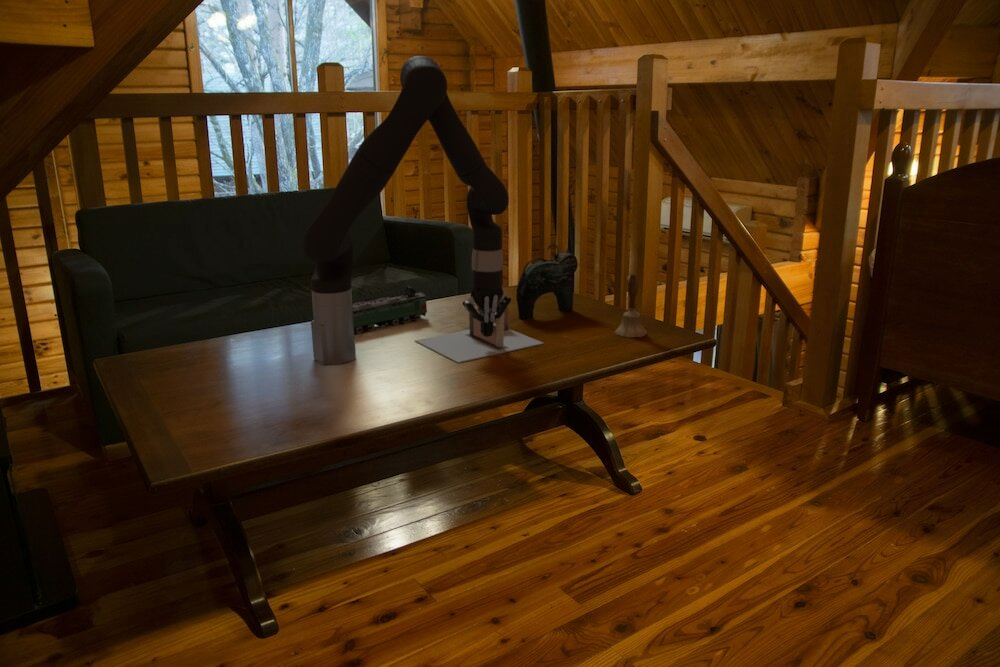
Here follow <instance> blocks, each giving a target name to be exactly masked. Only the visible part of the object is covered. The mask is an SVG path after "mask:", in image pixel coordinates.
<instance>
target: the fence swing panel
mask: <svg viewBox="0 0 1000 667" xmlns="http://www.w3.org/2000/svg"><path fill="white" fill-rule="evenodd" d="M473 325H474V335H475V336H477V337H479V338H481V339H483V340H485V341H488V342H490V343H492V344H494V345H496V346H497V347H503V346H504V323H503V322H496V324H495V323H493V334H492V336H489V337H485V336H483V335H482V334H481V322H480V321H478V320H476V319H474V318H473Z"/></svg>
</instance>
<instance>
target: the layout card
mask: <svg viewBox="0 0 1000 667" xmlns="http://www.w3.org/2000/svg"><path fill="white" fill-rule="evenodd" d="M414 342H415V343H417V344H418V345H419V344H420V345H421V346H423V347H425V348H427V349H429V350H430V351H433V352H435V353H437V354H439V355H440V356H443V357H445V358H446V359H449V360H450V361H453V362H454V363H456V364H461V363H467V362H471V361H474V360H478V359H483V358H488V357H493V356H497V355H500V354H505V353H510V352H515V351H518V350H523V349H524V350H525V349H528V348H532V347H537V346H542V345H544V342H542V341H541V340H537V339H535V338H532V337H530V336H527V335H525V334H523V333H520V332H517V331H515V330H512V329H510V328H509V329H504V346H503V347H497V346H496V345H494V344H492V343H490V342H488V341H485V340H483V339H481V338H479V337H477V336H470V329H466V330H461V331H456V332H451V333H450V332H449V333H446V334H440V335H436V336H435V335H434V336H431V337H430V336H429V337H426V338H420V339H417V340H414Z"/></svg>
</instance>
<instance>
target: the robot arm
mask: <svg viewBox="0 0 1000 667" xmlns="http://www.w3.org/2000/svg"><path fill="white" fill-rule="evenodd" d="M399 77H400V79H399V82H400V86H401V90H400V93H399V95H398V97H397V99H396V101H395V102H394V105H393V107H392V109H391V110H390V112H389V113H388V115H387V117H385V119H384V120H383V121H382V122H381V123H380V124H379V125H378V126H376V128H375V127H374V129H373V130H372V131H371V132H370V133H368V135H367V136H366V137H365V138H364V140H363V141H362V142H361V144H359V146H358V148H357V149H356V151H355V153H354V154H353V156H352V158H351V160H350V161H349V162H348V165H347V167H346V169H345V170H344V172H343V173H342V175H341V177H340V179H339V180H338V183H337V184H336V186H335V188H334V190H333V192H332V194H331V196H330V197H329V200H328V201H327V202H326V204H325V205H324V206H323V208H322V209H321V210H320V212H319V213H318V215H317V216H316V217H315V218H314V220H313V221H312V222H311V224H310V225H309V226H308V227H307V228H306V230H305V232H304V233H303V235H302V236H303V237H302V249H303V250H302V251H303V253H304V255H305V257H306V258H307V259H308V260H310V261H311V262H313V263H315V269H314V272H313V274H312V276H311V279H310V287H311V289H310V290H311V300H312V314H313V315H312V316H313V319H312V320H311V321H310V326H311V327H310V329H311V339H312V352H313V354H312V355H313V359H314V360H315V361H317V362H318V363H319V364H321V365H323V366H325V365H340V364H344V363H349V362H352V361H354V360H355V359H356V358H357V353H356V351H357V350H356V349H357V348H356V337H355V332H354V320H353V305H352V304H353V294H352V293H353V292H352V279H353V277H354V276H353V275H354V246H353V245H354V244H353V236H352V234H351V231H350V230H351V228H352V227H353V225H354V223H355V222H356V220H357V219H358V217H359V216H360V215H361V214H362V213H363V212H364V211H365V210H366V209H367V208H368V207H369V206H370V205H371V204H372V203H373V202H374V201H375V199H376V198H377V197H378V196H379V195H380V194H381V193H382V192H383V190H385V187H386V186H387V184H388V183H389V181H390V180H391V178H392V177H393V175H394V174H395V172H396V170H397V168H399V165H400V163H401V161H402V160H403V158H404V157H405V155H406V153H407V152H408V150H409V148H410V147H411V145H412V143H413V141H414V140H415V138H416V136H417V134H418V133H419V131H420V130H421V129H422V127H423V126H424V125H425V124H426V122H429V124H430V125H431V127H432V130H433V131H434V132H435V133H434V134H436V137H437V139H438V141H439V144H440V145H441V147H442V150H443V151H444V154H445V155H446V158H447V159H448V161H449V164H450V165H451V166H452V167H451V168H453V170H454V172H455V174H456V175H457V177H458V179H459V180H460V181H461V183H463V184H464V185H466V186H469V189H468V191H467V194H466V200H465V201H466V210H467V212H468V213H467V214H468V219H469V222H470V226H471V229H472V253H471V286H472V287H471V289H472V290H471V292H470V297H469V298H468V299H467V300H463V302H462V306H464V307H465V309H466V310H467V312H468V314H469V313H470V314H471V315H472V317H473V318H474V319H476V320H478V321H480V322H481V334H482V335H483V336H485V337H489V336H492V334H493V322H494V320H495V319H497V318H500V317H501V316H502V314H503V312H504V311H505V309H506V308H507V307H509V304H510V303H511V301H512V298H511V297H509V296H507V295H505V294H504V289H503V281H504V277H503V276H504V271H503V270H504V256H503V230H502V227H501V226H500V225H499V224H498V223H496V222H495V221H494V218H493V216H499V215H501V214H503V213H504V212H506V210H507V209H508V207H509V201H510V200H509V193H508V190H507V188H506V187H505V185H504V184H503V182H502V180H500V179H499V177H498V176H497V175H496V173H494V171H493V170H491V168H490V167H489V166H488V164H487V163H486V162H485V160H484V158H483V155H482V154H481V152H480V150H479V148H478V146H477V145H476V142H475V141H474V139H473V137H472V136H471V135H470V133H469V131H468V130H467V128H466V127H465V125H464V124H463V122H462V120H461V119H460V117H459V115H458V113H457V111H456V110H455V108H454V105H453V103H452V102H451V100H450V98H449V95H448V92H447V91H448V79H447V77H446V75H445V72H444V71H443V70H442V69H441V67H440V65H439V64H438V63H437V61H435V60H433V59H432V58H430V57H428V56H424V55H415V56H412V57H410V58H408V59H407V60H406V61H405V62H404V63H403V65H402V67H401V70H400V74H399ZM476 306H477V309H476Z"/></svg>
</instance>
